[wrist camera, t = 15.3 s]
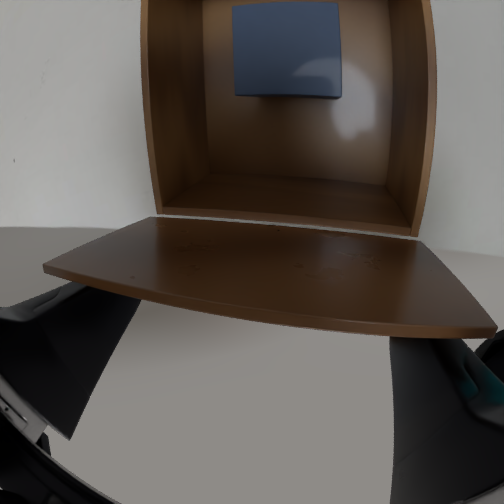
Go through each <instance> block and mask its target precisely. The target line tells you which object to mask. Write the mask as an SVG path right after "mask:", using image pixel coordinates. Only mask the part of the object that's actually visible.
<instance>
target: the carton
mask: <svg viewBox="0 0 504 504" xmlns="http://www.w3.org/2000/svg"><path fill="white" fill-rule="evenodd" d="M270 2H330V3H338V9H339V22H340V38H341V62H342V97H341V98H339V99H337V100H334V99H320V98H300V97H248V96H235V89H234V61H233V30H232V6H239V5H247V4H257V3H270ZM140 47H141V78H142V95H143V109H144V121H145V131H146V140H147V149H148V157H149V165H150V173H151V180H152V186H153V193H154V199H155V205H156V211H157V214H165V215H183V216H200V217H215V218H230V219H243V220H256V221H269V222H280V223H292V224H303V225H313V226H323V227H333V228H343V229H352V230H361V231H370V232H379V233H387V234H395V235H403V236H411V237H418V233H419V229H420V225H421V220H422V216H423V211H424V206H425V201H426V196H427V190H428V184H429V178H430V171H431V164H432V156H433V147H434V137H435V125H436V106H437V65H436V47H435V35H434V26H433V18H432V11H431V4H430V0H141V23H140Z"/></svg>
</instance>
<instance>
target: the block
mask: <svg viewBox="0 0 504 504" xmlns="http://www.w3.org/2000/svg"><path fill="white" fill-rule="evenodd" d="M232 30H233V61H234V89H235V96H248V97H300V98H320V99H334V100H337V99H339V98H341V97H342V62H341V38H340V22H339V9H338V3H330V2H270V3H257V4H247V5H239V6H232Z"/></svg>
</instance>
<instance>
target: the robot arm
mask: <svg viewBox="0 0 504 504" xmlns="http://www.w3.org/2000/svg"><path fill="white" fill-rule="evenodd" d="M141 300H142V299H138V298H133V297H129V296H125V295H121V294H117V293H113V292H109V291H106V290H102V289H98V288H94V287H91V286H87V285H83V284H80V283H76V282H73V281H72V282H70V283H67V284H65V285H63V286H60V287H58V288H56V289H53V290H51V291H49V292H46V293H44V294H41V295H39V296H36V297H34V298H31V299H29V300H26V301H23V302H21V303H18V304H16V305H13V306H10V307H0V487H1V488H2V489H3V490H0V504H121V503H119V502H117V501H115V500H114V499H112V498H110V497H108V496H107V495H105V494H103V493H102V492H100V491H98V490H97V489H95V488H93V487H92V486H91V485H89V484H87V483H86V482H84V481H83V480H81V479H80V478H79V477H77V476H76V475H74V474H73V473H72V472H70V471H69V470H67V469H66V468H65V467H63V466H62V465H61V464H60V463H58V462H57V461H56V460H54V459H53V458H52V457H51V452H50V446H49V440H48V436H47V435H46V434H45V433H44V432H43V431H44V430H45V428H46V427H47V425H49V426H50V427H51V428H52V429H54V430H55V431H56V432H58V433H59V434H60V435H62V436H63V437H64V438H66V439H67V440H70V439H71V437H72V435H73V433H74V431H75V428H76V426H77V424H78V422H79V419H80V417H81V415H82V413H83V411H84V409H85V407H86V405H87V403H88V401H89V398H90V396H91V394H92V392H93V390H94V388H95V386H96V384H97V382H98V380H99V378H100V376H101V374H102V372H103V370H104V368H105V366H106V364H107V363H108V361H109V359H110V357H111V355H112V353H113V351H114V350H115V348H116V346H117V344H118V342H119V340H120V339H121V337H122V335H123V333H124V332H125V330H126V328H127V326H128V324H129V323H130V321H131V319H132V317H133V316H134V314H135V312H136V310H137V308H138V306H139V304H140V302H141ZM389 344H390V360H391V371H392V385H393V406H394V457H393V458H394V459H393V475H392V487H391V497H390V504H504V340H495V341H493V342H492V343H491V345H490V346H489V348H488V349H487V351H486V352H485V354H484V355H483V357H482V358H481V359H479V358H478V357H477V355H476V354H475V353H474V352H473V351H472V350H471V349H470V348H469V347H468V346H467V344H466V343H465V342H464V341H463V340H462V339H446V338H413V337H394V336H390V343H389ZM467 347H468V348H467Z"/></svg>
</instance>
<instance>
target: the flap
mask: <svg viewBox="0 0 504 504" xmlns="http://www.w3.org/2000/svg"><path fill="white" fill-rule="evenodd" d="M43 269H44V273H46V274H50V275H53V276H56V277H59V278H63V279H66V280H69V281H73V282H76V283H80V284H83V285H87V286H91V287H94V288H98V289H102V290H106V291H109V292H113V293H117V294H121V295H125V296H129V297H133V298H138V299H142V300H147V301H151V302H156V303H160V304H164V305H169V306H173V307H179V308H184V309H188V310H193V311H198V312H203V313H209V314H214V315H220V316H226V317H231V318H237V319H244V320H249V321H256V322H263V323H269V324H276V325H283V326H290V327H298V328H306V329H315V330H323V331H334V332H343V333H354V334H366V335H379V336H394V337H413V338H446V339H478V338H479V339H482V338H494V336H495V333H496V331H497V329H498V326H497V325H496V324H495V322H494V321H493V320H492V319H491V317H490V316H489V315H488V313H487V312H486V311H485V310H484V309H483V308H482V306H481V305H480V304H479V302H478V301H477V300H476V299H475V298H474V297H473V296H472V294H471V293H470V292H469V291H468V290H467V289H466V287H465V286H464V285H463V284H462V283H461V282H460V281H459V280H458V279H457V277H456V276H455V275H454V274H453V273H452V272H451V271H450V270H449V269H448V268H447V267H446V266H445V265H444V264H443V263H442V261H441V260H439V258H438V257H437V256H436V255H435V254H434V253H433V252H432V251H431V250H430V249H429V248H428V247H427V246H426V245H425V244H424V243H422V242H421V241H416V240H408V239H400V238H392V237H384V236H375V235H366V234H357V233H348V232H339V231H329V230H319V229H309V228H299V227H288V226H276V225H265V224H253V223H240V222H227V221H213V220H198V219H183V218H166V217H148V218H146V219H143V220H141V221H138V222H136V223H133V224H131V225H128V226H126V227H124V228H121V229H119V230H116V231H114V232H112V233H109V234H107V235H105V236H102V237H100V238H98V239H96V240H94V241H91V242H89V243H86V244H84V245H82V246H80V247H77V248H75V249H73V250H71V251H69V252H67V253H65V254H62V255H60V256H58V257H56V258H54V259H52V260H50V261H48V262H46V263H44V264H43Z"/></svg>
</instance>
